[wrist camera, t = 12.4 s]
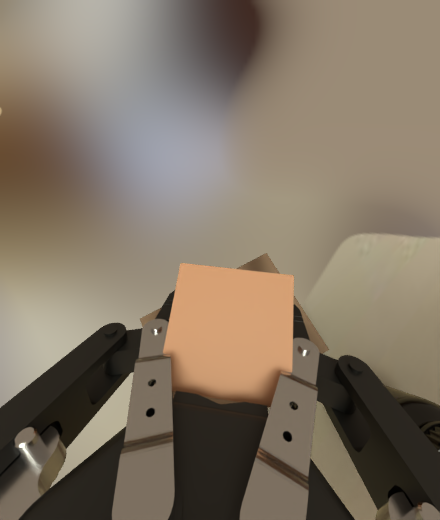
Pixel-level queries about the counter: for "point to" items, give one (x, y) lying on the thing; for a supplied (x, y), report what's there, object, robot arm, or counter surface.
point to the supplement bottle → (421, 414)
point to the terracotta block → (230, 332)
